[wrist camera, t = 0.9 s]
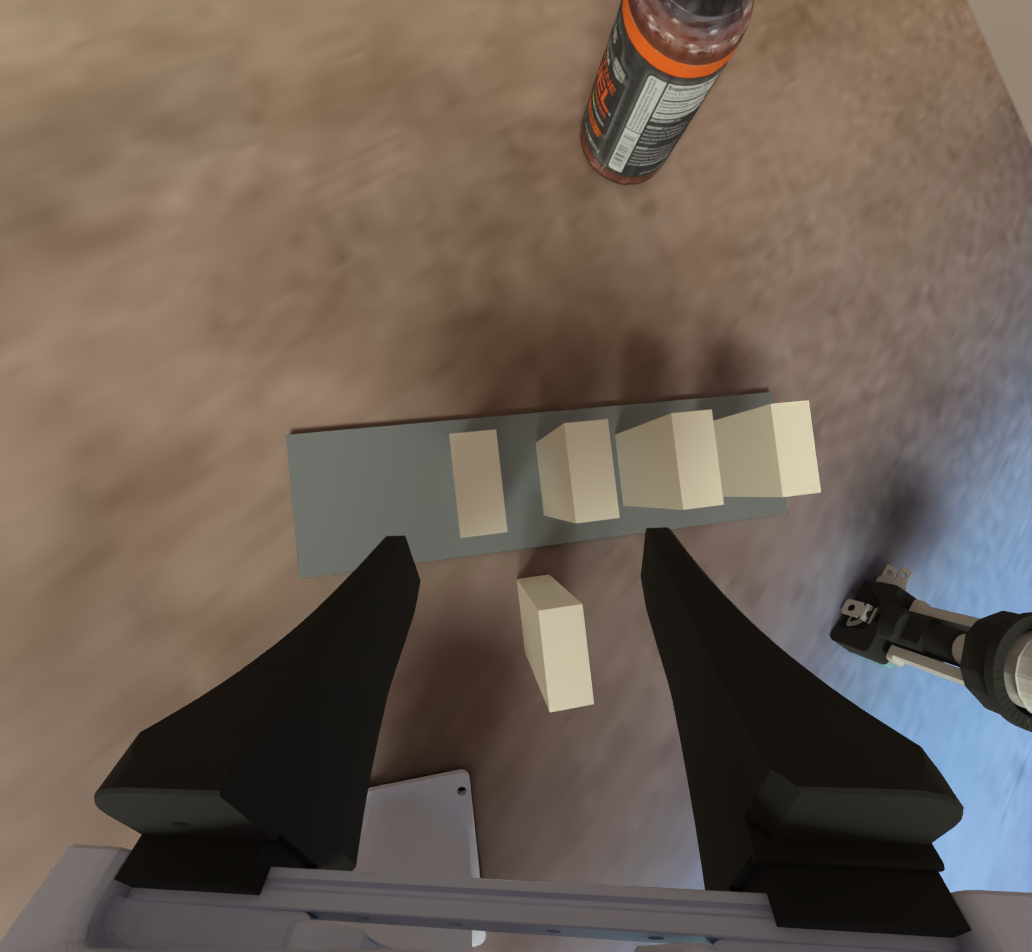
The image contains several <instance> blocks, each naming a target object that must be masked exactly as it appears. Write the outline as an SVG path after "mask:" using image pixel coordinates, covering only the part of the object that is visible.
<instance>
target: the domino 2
mask: <svg viewBox="0 0 1032 952" xmlns="http://www.w3.org/2000/svg"><path fill="white" fill-rule="evenodd" d="M536 451H537V460H538V468H539V477H540V486H541V495H542V503H543V512H544V516H547V517H552V518H556V519H560V520H564V521H568V522H572V523H584V522H591V521H599V520H607V519H615V518H620V516H619V507H618V499H617V491H616V482H615V474H614V466H613V457H612V449H611V440H610V432H609V424H608V419H603V420H592V421H581V422H571V423H564V424H562V425H561V426H559V427H558V428H556V429H555V430H553V431H552V432H550V433H549V434H548V435H546V436H545V437H543V438H542V439H540V440H539V441H537V442H536Z"/></svg>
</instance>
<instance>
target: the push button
mask: <svg viewBox="0 0 1032 952" xmlns="http://www.w3.org/2000/svg"><path fill="white" fill-rule="evenodd" d="M888 570H890V571H891V575H890V576H888V575H887V571H888ZM896 572H897V569H896V568H894V567H893V566H891V565H890V564H887V565H886V567H885V569H884V571H883V573H882V575H881V577H880V576H878V578H877V580H876V582H875V583H874V582H869V581H867V582H864V583H863V584H862V586H861V588H860V590H859V592H858V594H857V596H856V598H855V600H852V599H849V600H846V602H845V604H844V606H843V608H842V610H841V611H842V613H843V614H845V615H846V617H845V619H844V620H843V622H842V624H841V626H837V627H835V628H834V629H833V631H832V633H831V635H830V637H831V639H832V640H833V641H835V642H836V643H838V644H839V645H841V646H842V647H844V648H845V649H847V650H848V651H850V652H851V653H853V654H854V655H856V656H858V657H860V658H863V659H865V660H868V661H870V662H873V663H875V664H878V665H880V666H882V667H885V668H888V669H891V668H893V667H894V666H895V665H898V666H903V665H904V664H905V663H906V664H908V665H911V666H914V667H916V668H919V669H921V670H924V671H927V672H929V673H932V674H935V675H937V676H940V677H943V678H945V679H948V680H951V681H953V682H956V683H958V684H961V685H964V686H966V688H967V689H968V690H969V691H970V692H971V693H972V694H973V695H974V696H975V697H976V698H977V699H978V700H979V702H980V703H981V704H982V705H983V706H984V707H985V708H986V709H988V710H991V711H993V712H996V713H998V714H1000V715H1001V716H1002V717H1003V718H1005V719H1006V720H1007V721H1008V722H1010V723H1012V724H1013V725H1015V726H1018V727H1020V728H1023V729H1025V730H1028V731H1030V732H1032V612H1030V613H1022V614H1016V613H1012V612H1007V611H1001V612H998V613H995V614H992V615H990V616H987V617H984V618H982V619H979V618H975V617H971V616H967V615H962V614H958V613H954V612H950V611H946V610H941V609H937V608H933V607H930V605H928V604H927V603H926V602H924V601H920V600H917V599H916V598H915V597H913V596H912V595H910V594H909V593H907V592H906V591H905V590H906V588H905V585H906V583H907V581H908V579H909V577H910V575H911V571H909V570H908V569H906V568H905V567H903V566H902V567H901V568H900V570H899V572H898V574H897V576H896V578H895V580H894V579H893V578H894V576H895V574H896ZM902 573H905V575H906V576H905V578H904V579H903V578H902V577H901V574H902ZM850 605H851V607H850V609H849V610H848V607H849V606H850ZM952 627H953V628H952ZM963 630H964V631H963ZM943 662H946V663H949V664H952V665H955V666H958V667H960V668H957V667H954V666H951V665H948V664H946V663H943Z"/></svg>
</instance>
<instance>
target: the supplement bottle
mask: <svg viewBox="0 0 1032 952" xmlns="http://www.w3.org/2000/svg"><path fill="white" fill-rule="evenodd" d="M753 5H754V0H621V3H620V7H619V10H618V12H617V16H616V19H615V22H614V25H613V28H612V31H611V34H610V38H609V41H608V44H607V47H606V50H605V52H604V55H603V59H602V62H601V64H600V68H599V71H598V73H597V76H596V79H595V83H594V85H593V88H592V92H591V95H590V98H589V101H588V104H587V107H586V110H585V113H584V118H583V121H582V126H581V143H582V148H583V151H584V154H585V156H586V158H587V160H588V162H589V163H590V165H591V166H592V167H593V169H594V170H595V171H597V172H598V173H599V174H600V175H602V176H603V177H605V178H606V179H608V180H610V181H612V182H616V183H618V184H623V185H629V184H637V183H641V182H644V181H646V180H648V179H649V178H651V177H652V176H654V175H655V174H656V173H657V172H658V171H659V169H660V168H661V167H662V165H663V164H664V162H665V161H666V159H667V158H668V157H669V155H670V154H671V152H672V150H673V149H674V147H675V145H676V144H677V142H678V141H679V139H680V138H681V136H682V134H683V133H684V131H685V130H686V128H687V126H688V125H689V123H690V121H691V120H692V118H693V117H694V115H695V114H696V112H697V110H698V109H699V107H700V106H701V104H702V102H703V101H704V99H705V98H706V96H707V94H708V93H709V91H710V89H711V88H712V86H713V85H714V83H715V82H716V80H717V79H718V77H719V75H720V73H721V72H722V70H723V69H724V67H725V66H726V64H727V62H728V60H729V59H730V57H731V56H732V54H733V52H734V51H735V49H736V48H737V46H738V44H739V43H740V41H741V39H742V37H743V35H744V33H745V31H746V29H747V27H748V25H749V22H750V19H751V15H752V11H753Z"/></svg>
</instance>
